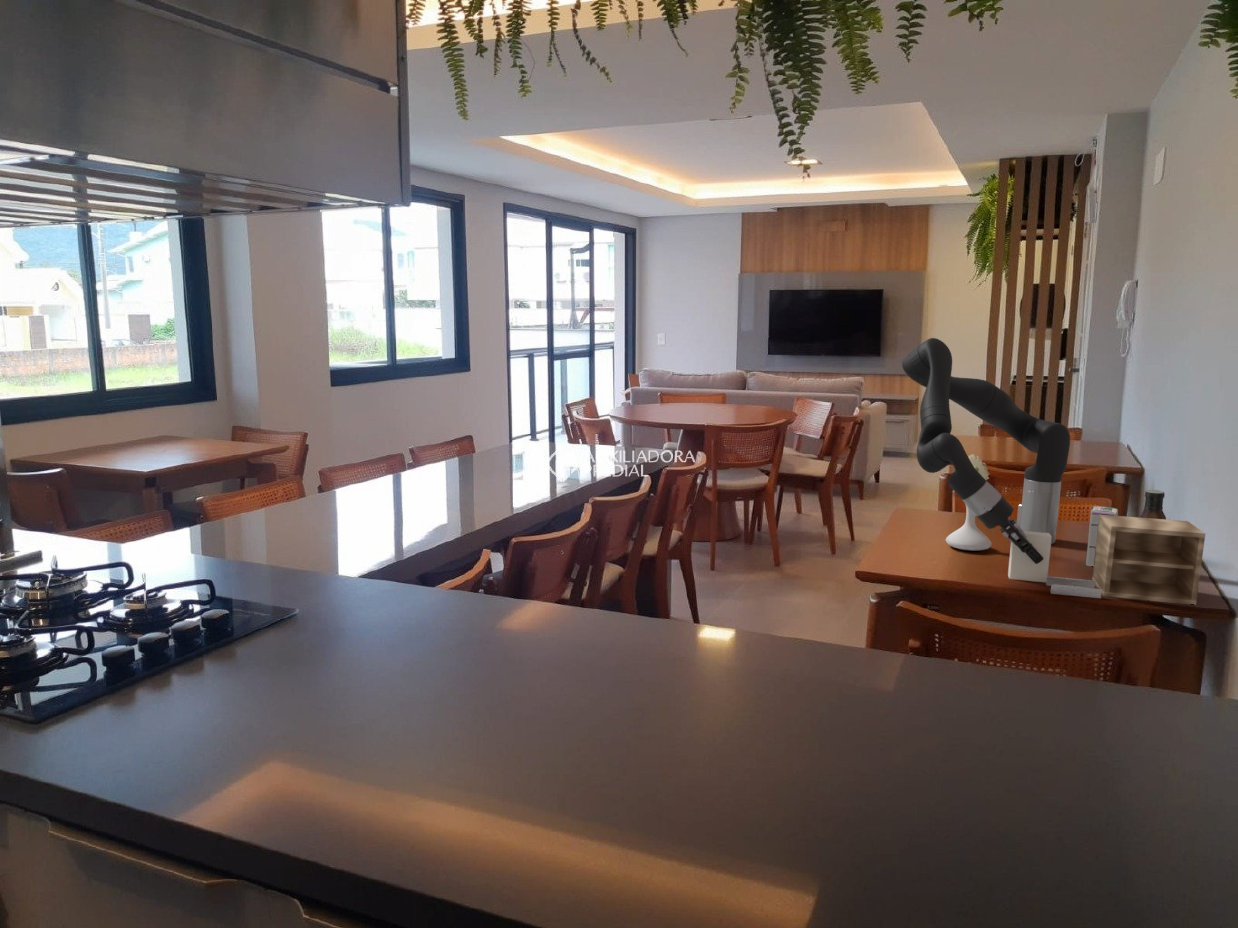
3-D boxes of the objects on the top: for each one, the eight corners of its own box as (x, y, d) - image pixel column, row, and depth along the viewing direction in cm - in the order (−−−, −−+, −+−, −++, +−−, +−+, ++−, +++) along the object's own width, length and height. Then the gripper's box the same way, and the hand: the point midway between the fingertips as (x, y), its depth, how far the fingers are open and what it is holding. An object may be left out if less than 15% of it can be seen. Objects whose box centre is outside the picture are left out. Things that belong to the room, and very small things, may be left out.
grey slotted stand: (1051, 593, 197) (1051, 585, 197) (1045, 584, 204) (1046, 576, 204) (1100, 598, 194) (1101, 589, 194) (1093, 589, 201) (1094, 580, 201)
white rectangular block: (1009, 579, 208) (1014, 533, 206) (1007, 574, 211) (1012, 530, 209) (1046, 582, 205) (1051, 536, 204) (1044, 578, 209) (1049, 533, 207)
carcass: (1103, 596, 196) (1111, 526, 193) (1091, 580, 207) (1099, 514, 205) (1195, 605, 191) (1205, 533, 188) (1178, 588, 202) (1187, 521, 199)
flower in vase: (995, 555, 228) (1003, 460, 224) (948, 552, 230) (956, 458, 226) (984, 542, 241) (993, 452, 236) (941, 540, 243) (948, 450, 239)
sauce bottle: (1155, 567, 220) (1164, 489, 216) (1167, 574, 214) (1178, 494, 210) (1127, 565, 220) (1136, 488, 217) (1139, 573, 214) (1149, 493, 211)
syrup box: (1111, 569, 217) (1118, 512, 214) (1084, 565, 220) (1090, 509, 217) (1113, 564, 222) (1119, 508, 219) (1086, 560, 225) (1092, 505, 222)
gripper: (972, 508, 216) (1021, 561, 215) (977, 521, 203) (1029, 577, 201) (997, 488, 214) (1047, 541, 212) (1004, 500, 200) (1057, 557, 199)
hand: (1038, 558), depth 207 cm, fingers closed on white rectangular block, 3 cm apart
